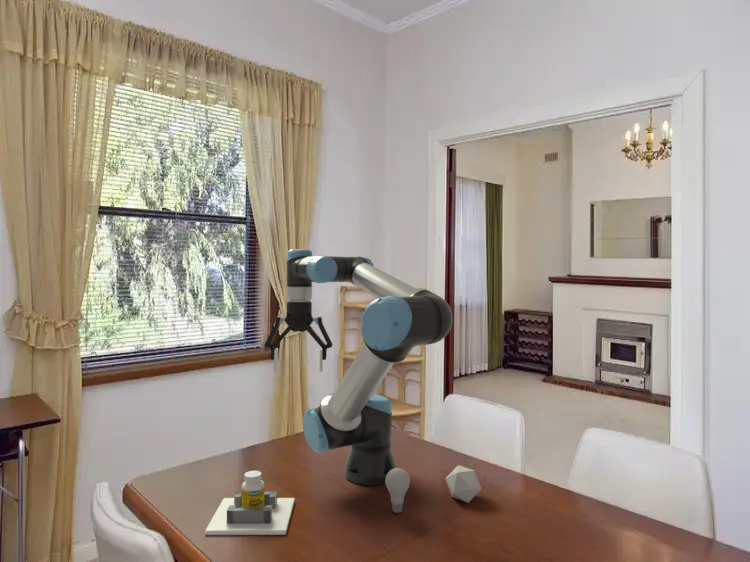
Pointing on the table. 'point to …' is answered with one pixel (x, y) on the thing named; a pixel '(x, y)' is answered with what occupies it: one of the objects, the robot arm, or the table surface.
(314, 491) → the table surface
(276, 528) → the socket
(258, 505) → the supplement bottle
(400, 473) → the lightbulb
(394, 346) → the robot arm
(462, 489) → the die
